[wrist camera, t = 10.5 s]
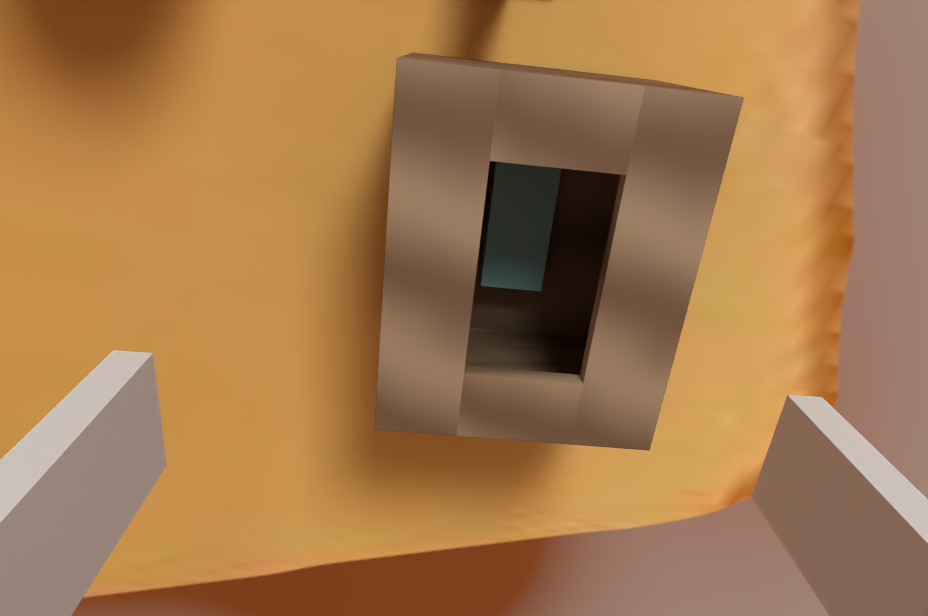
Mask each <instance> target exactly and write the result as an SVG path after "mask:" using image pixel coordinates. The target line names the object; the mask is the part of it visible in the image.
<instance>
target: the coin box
mask: <svg viewBox="0 0 928 616" xmlns="http://www.w3.org/2000/svg"><path fill="white" fill-rule="evenodd" d="M743 99H744V98H743V97H738V96H733V95H728V94H723V93H718V92H712V91H707V90H702V89H697V88H692V87H687V86H682V85H676V84H671V83H666V82H661V81H656V80H648V79H639V78H630V77H621V76H613V75H604V74H595V73H586V72H578V71H569V70H560V69H551V68H543V67H534V66H525V65H516V64H507V63H499V62H490V61H481V60H472V59H464V58H455V57H446V56H437V55H429V54H420V53H411V54H408V55H405V56H402V57H399V58H397V62H396V79H395V96H394V113H393V129H392V146H391V163H390V179H389V196H388V213H387V230H386V246H385V263H384V280H383V296H382V313H381V330H380V347H379V363H378V380H377V397H376V413H375V429H376V430H389V431H402V432H415V433H428V434H441V435H454V436H467V437H480V438H493V439H506V440H519V441H533V442H546V443H559V444H572V445H585V446H598V447H611V448H624V449H637V450H650V446H651V443H652V439H653V435H654V432H655V428H656V424H657V420H658V417H659V413H660V409H661V405H662V402H663V398H664V394H665V390H666V387H667V383H668V379H669V375H670V372H671V368H672V364H673V361H674V357H675V353H676V349H677V346H678V342H679V338H680V334H681V331H682V327H683V323H684V319H685V316H686V312H687V308H688V304H689V301H690V297H691V293H692V290H693V286H694V282H695V278H696V275H697V271H698V267H699V263H700V260H701V256H702V252H703V248H704V245H705V241H706V237H707V233H708V230H709V226H710V222H711V219H712V215H713V211H714V207H715V204H716V200H717V196H718V192H719V189H720V185H721V181H722V177H723V174H724V170H725V166H726V163H727V159H728V155H729V151H730V148H731V144H732V140H733V136H734V133H735V129H736V125H737V121H738V118H739V114H740V110H741V106H742V103H743ZM492 161H495V162H505V163H515V164H524V165H534V166H543V167H553V168H562V169H561V175H560V181H559V187H558V193H557V199H556V205H555V211H554V217H553V223H552V229H551V235H550V241H549V247H548V253H547V259H546V265H545V271H544V277H543V283H542V289H541V291H531V290H521V289H510V288H499V287H488V286H481V284H480V276H479V266H480V258H481V250H482V242H483V234H484V225H485V217H486V209H487V201H488V193H489V185H490V176H491V168H492Z"/></svg>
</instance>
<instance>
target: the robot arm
mask: <svg viewBox="0 0 928 616" xmlns="http://www.w3.org/2000/svg"><path fill="white" fill-rule="evenodd" d="M165 467H166V457H165V449H164V441H163V432H162V424H161V416H160V408H159V399H158V391H157V383H156V374H155V366H154V358H153V353H145V352H129V351H114V350H113V351H112V352H111V353H110V354H109V355H108V356H107V357H106V358H105V359H104V360H103V361H102V362H101V363H100V364H99V365H98V366H97V367H96V368H95V369H93V370H92V371H91V372H90V373H89V374H88V375H87V376H86V377H85V378H84V379H83V380H82V381H81V382H80V383H79V384H78V385H77V386H76V387H75V388H74V389H73V390H72V391H71V392H70V393H69V394H68V395H67V396H66V397H65V398H64V399H63V400H62V401H61V402H59V403H58V404H57V405H56V406H55V407H54V408H53V409H52V410H51V411H50V412H49V413H48V414H47V415H46V416H45V417H44V418H43V419H42V420H41V421H40V422H39V423H38V424H37V425H36V426H35V427H34V428H33V429H32V430H31V431H30V432H29V433H28V434H26V435H25V436H24V437H23V438H22V439H21V440H20V441H19V442H18V443H17V444H16V445H15V446H14V447H13V448H12V449H11V450H10V451H9V452H8V453H7V454H6V455H5V456H4V457H3V458H2V459H1V460H0V616H71V615H72V613H73V612H74V610H75V608H76V607H77V605H78V604H79V602H80V601H81V599H82V598H83V596H84V594H85V593H86V591H87V590H88V588H89V587H90V585H91V583H92V582H93V580H94V579H95V577H96V576H97V574H98V572H99V571H100V569H101V568H102V566H103V564H104V563H105V561H106V560H107V558H108V557H109V555H110V553H111V552H112V550H113V549H114V547H115V546H116V544H117V542H118V541H119V539H120V538H121V536H122V535H123V533H124V531H125V530H126V528H127V527H128V525H129V524H130V522H131V520H132V519H133V517H134V516H135V514H136V513H137V511H138V509H139V508H140V506H141V505H142V503H143V502H144V500H145V498H146V497H147V495H148V494H149V492H150V491H151V489H152V487H153V486H154V484H155V483H156V481H157V480H158V478H159V476H160V475H161V473H162V472H163V470H164V469H165ZM752 499H753V500H754V502H755V503H756V505H757V506H758V508H759V509H760V511H761V512H762V514H763V515H764V517H765V518H766V520H767V521H768V523H769V525H770V526H771V527H772V529H773V531H774V532H775V534H776V535H777V537H778V538H779V540H780V541H781V543H782V544H783V546H784V547H785V549H786V550H787V552H788V553H789V555H790V556H791V558H792V559H793V561H794V562H795V564H796V565H797V567H798V568H799V570H800V571H801V573H802V574H803V576H804V578H805V579H806V581H807V582H808V584H809V585H810V586H811V588H812V589H813V591H814V593H815V594H816V596H817V597H818V599H819V600H820V602H821V603H822V605H823V606H824V608H825V609H826V611H827V612H828V614H829V615H830V616H928V499H927V498H926V497H924V495H923V494H921V493H920V492H919V491H918V490H917V489H916V488H915V487H914V486H913V485H912V484H911V483H910V482H909V481H908V480H907V479H906V478H905V477H904V476H903V475H902V474H901V473H900V472H899V471H898V470H897V469H895V467H894V466H893V465H891V464H890V463H889V462H888V461H887V460H886V459H885V458H884V457H883V456H882V455H881V454H880V453H879V452H878V451H877V450H876V449H875V448H874V447H873V446H872V445H871V444H870V443H869V442H868V441H867V440H866V439H865V438H864V437H863V436H862V435H861V434H860V433H858V432H857V431H856V430H855V429H854V428H853V427H852V426H851V425H850V424H849V423H848V422H847V421H846V420H845V419H844V418H843V417H842V416H841V415H840V414H839V413H838V412H837V411H836V410H835V409H834V408H833V407H832V406H831V405H830V404H829V403H827V402H826V401H825V400H824V399H823V398H822V397H811V396H796V395H787V398H786V401H785V404H784V407H783V409H782V412H781V415H780V418H779V421H778V424H777V426H776V429H775V432H774V435H773V438H772V441H771V444H770V446H769V449H768V452H767V455H766V458H765V461H764V463H763V466H762V469H761V472H760V475H759V478H758V481H757V483H756V486H755V489H754V492H753V495H752Z"/></svg>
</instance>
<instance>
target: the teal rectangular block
mask: <svg viewBox="0 0 928 616" xmlns="http://www.w3.org/2000/svg"><path fill="white" fill-rule="evenodd" d="M561 169H562V168H553V167H543V166H534V165H524V164H515V163H505V162H495V161H492V168H491V176H490V185H489V193H488V201H487V209H486V217H485V225H484V234H483V242H482V250H481V258H480V266H479V276H480V284H481V286H488V287H499V288H510V289H521V290H531V291H541V289H542V283H543V277H544V271H545V265H546V259H547V253H548V247H549V241H550V235H551V229H552V223H553V217H554V211H555V205H556V199H557V193H558V187H559V181H560V175H561Z"/></svg>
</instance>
